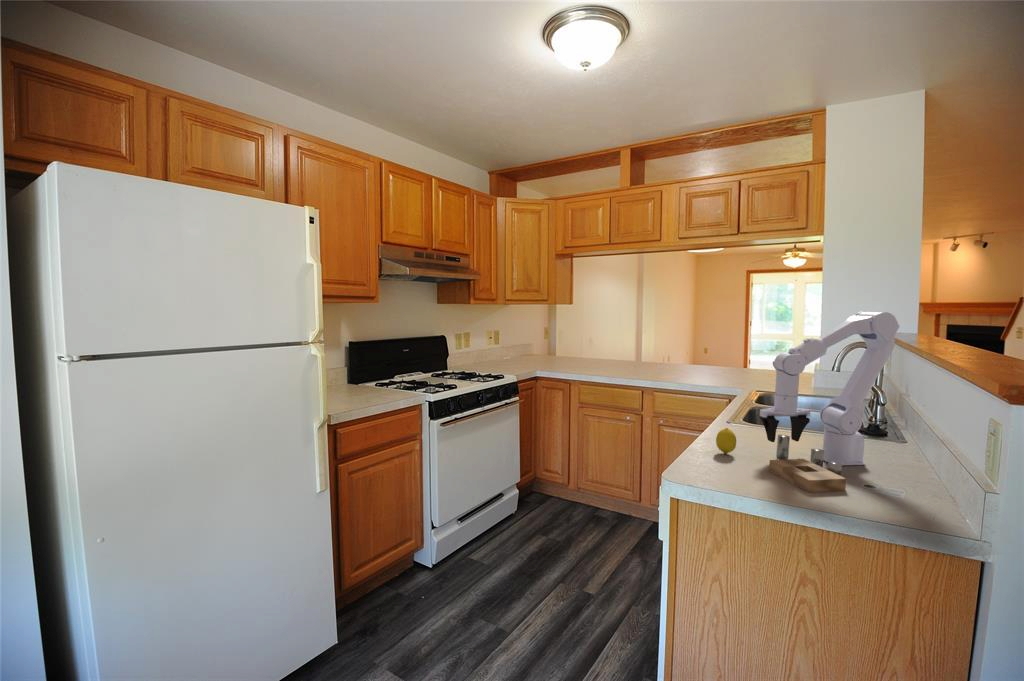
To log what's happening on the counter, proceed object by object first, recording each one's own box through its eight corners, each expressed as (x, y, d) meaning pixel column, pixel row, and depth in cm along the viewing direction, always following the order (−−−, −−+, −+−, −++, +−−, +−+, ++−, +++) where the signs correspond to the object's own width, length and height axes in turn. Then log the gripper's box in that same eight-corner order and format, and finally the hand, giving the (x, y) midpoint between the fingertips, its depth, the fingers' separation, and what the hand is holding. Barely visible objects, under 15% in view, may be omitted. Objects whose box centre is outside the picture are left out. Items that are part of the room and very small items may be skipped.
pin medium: (817, 465, 130) (818, 448, 130) (825, 469, 127) (826, 451, 127) (807, 465, 130) (808, 448, 129) (815, 469, 127) (816, 452, 126)
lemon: (737, 457, 136) (739, 431, 135) (717, 456, 137) (719, 430, 136) (732, 451, 141) (734, 426, 140) (713, 450, 142) (714, 425, 141)
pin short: (834, 473, 124) (835, 460, 124) (843, 477, 121) (844, 464, 121) (824, 473, 124) (825, 461, 123) (833, 478, 121) (834, 465, 120)
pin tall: (783, 457, 136) (784, 434, 136) (790, 460, 133) (792, 437, 133) (773, 457, 136) (775, 434, 135) (781, 461, 133) (782, 437, 132)
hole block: (802, 469, 127) (803, 458, 126) (845, 490, 113) (846, 478, 113) (769, 470, 126) (769, 460, 125) (808, 492, 112) (809, 480, 111)
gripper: (799, 391, 138) (795, 436, 139) (754, 392, 136) (751, 437, 137) (817, 396, 131) (813, 443, 132) (770, 397, 129) (767, 444, 130)
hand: (783, 440), depth 134 cm, fingers open, 7 cm apart
